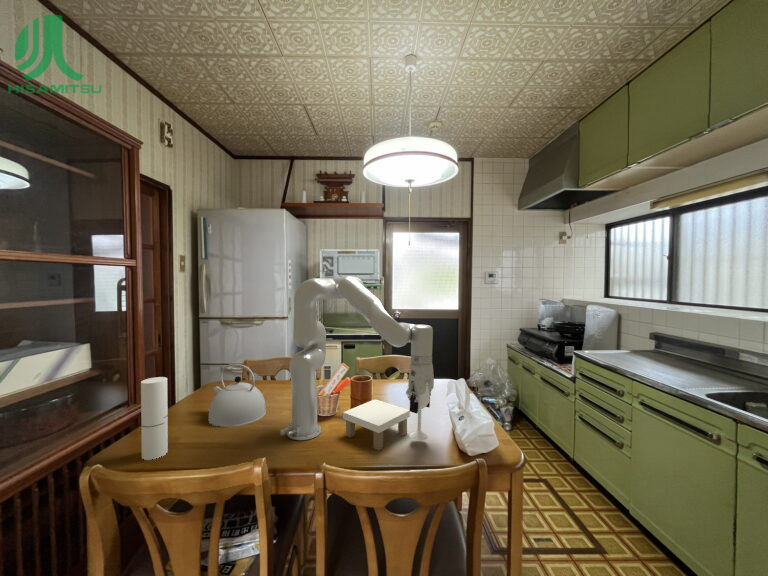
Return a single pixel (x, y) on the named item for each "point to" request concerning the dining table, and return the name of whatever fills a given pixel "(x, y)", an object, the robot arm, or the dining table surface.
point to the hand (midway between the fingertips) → (419, 408)
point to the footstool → (376, 419)
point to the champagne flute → (422, 403)
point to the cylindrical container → (154, 418)
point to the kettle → (236, 403)
